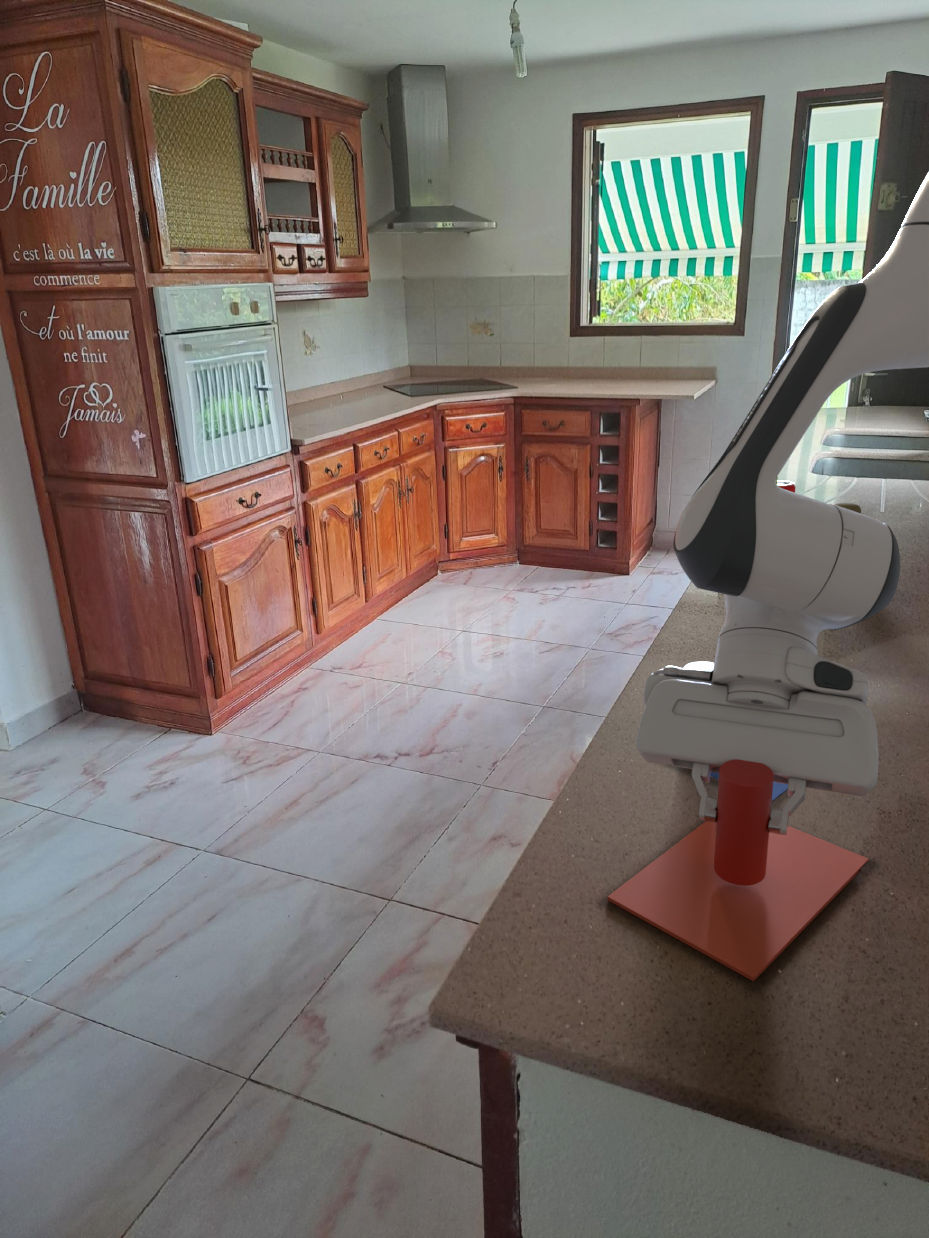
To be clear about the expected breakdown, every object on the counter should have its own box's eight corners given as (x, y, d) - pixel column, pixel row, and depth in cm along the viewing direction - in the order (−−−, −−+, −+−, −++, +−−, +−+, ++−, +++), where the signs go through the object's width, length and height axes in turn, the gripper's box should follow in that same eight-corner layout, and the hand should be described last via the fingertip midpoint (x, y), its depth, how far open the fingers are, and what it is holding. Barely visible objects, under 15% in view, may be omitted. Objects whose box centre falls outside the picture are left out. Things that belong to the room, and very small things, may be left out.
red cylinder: (775, 869, 78) (783, 770, 74) (749, 892, 75) (756, 791, 71) (730, 848, 81) (736, 753, 77) (704, 871, 78) (709, 772, 74)
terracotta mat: (868, 862, 79) (869, 858, 79) (753, 981, 67) (753, 977, 67) (730, 805, 89) (730, 801, 89) (607, 900, 77) (607, 896, 77)
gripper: (644, 651, 82) (616, 796, 77) (887, 678, 74) (873, 842, 69) (653, 675, 87) (628, 812, 82) (881, 703, 79) (868, 857, 74)
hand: (742, 826), depth 75 cm, fingers closed on red cylinder, 4 cm apart
